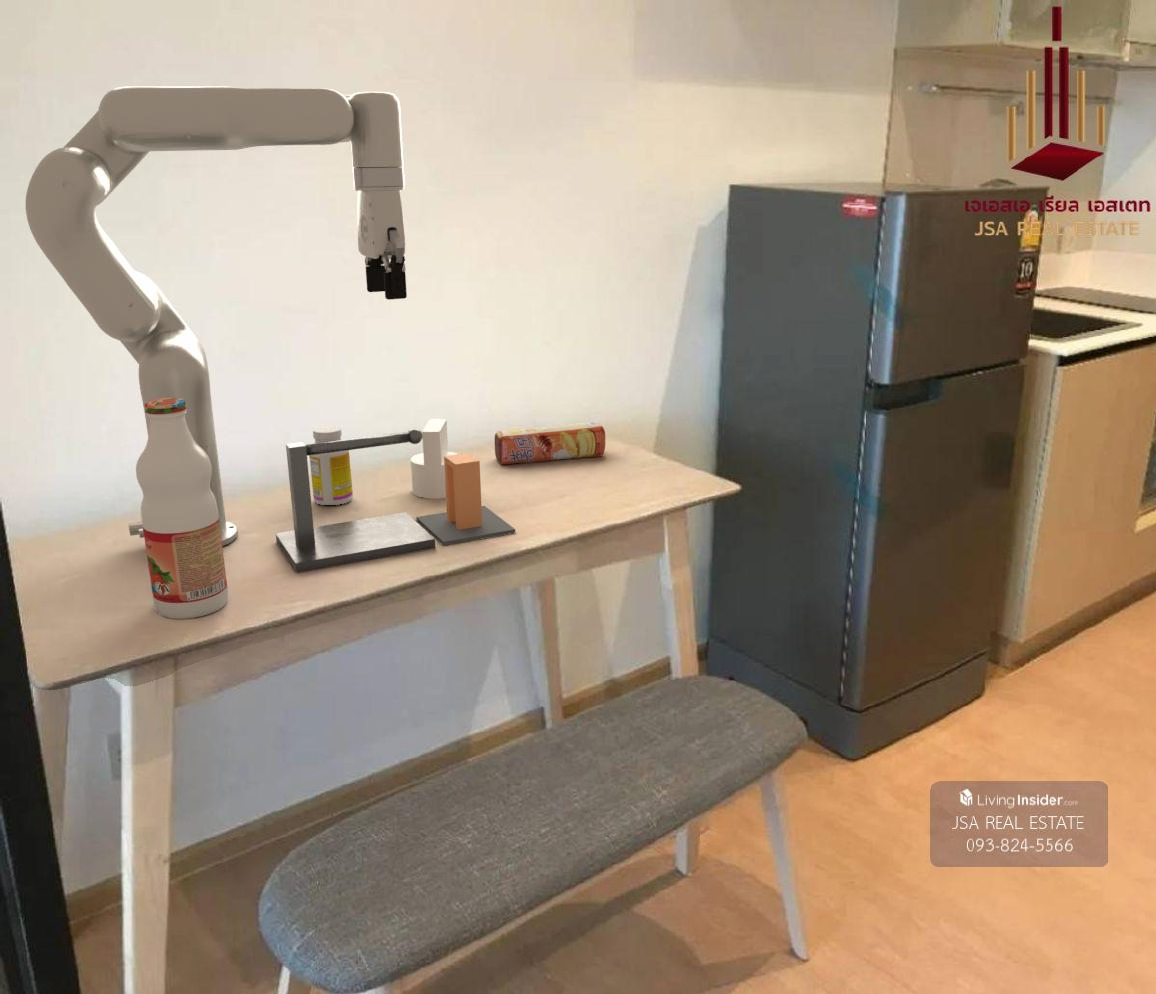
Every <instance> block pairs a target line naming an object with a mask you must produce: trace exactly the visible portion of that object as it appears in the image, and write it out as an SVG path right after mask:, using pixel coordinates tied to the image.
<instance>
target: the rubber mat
mask: <svg viewBox="0 0 1156 994" xmlns="http://www.w3.org/2000/svg"><path fill="white" fill-rule="evenodd" d="M481 508H482V526H478V527H473V528H467V529H461V530H458V529H457V528H456V521H455V522H449V521H448V520H447V511H445V512H438V513H433V514H427V515H420V516H416V518H415V519H416V520H415V521H416V522H417V523H418V524H419V525H420V526H421V527H422V528H424V529H425V530H426V531H427V532H428V533H429V534H430V535H431V536H432V537H433V538H434V539H435V540H437V542H439V543H440V544H441V545H442V546H443V547H444V546H449V545H454V544H460V543H466V542H471V541H477V540H481V539H482V538H483V539H487V538H488V537H489V538H494V537H499V535H500V536H504V534H506V535H509V533H511V534H515V533H516V528H515V527H513V526H512V525H510V523H508V522H507V521H505V520H504V519H503V518H501V517H500V516H498V515H497V514H496V513H495V512H493V511H492V510H491V509H490V508H488V507H486V506H485V505H481ZM514 532H515V533H514ZM493 536H494V537H493ZM483 539H482V540H483Z"/></svg>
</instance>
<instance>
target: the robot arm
mask: <svg viewBox="0 0 1156 994" xmlns="http://www.w3.org/2000/svg"><path fill="white" fill-rule="evenodd" d="M400 104H401V103H400V100H399V98H398V97H397V95H395V94H394V93H391V92H386V91H384V92H383V91H361V92H356V93H353V94H342V93H341V92H339V91H338V90H335V89H330V88H325V87H322V88H321V87H313V88H312V87H307V88H306V87H295V88H294V87H290V88H289V87H282V88H280V87H279V88H277V87H272V88H265V87H264V88H261V87H260V88H257V87H256V88H252V87H250V88H249V87H237V86H228V85H227V86H220V85H219V86H218V85H217V86H216V85H215V86H213V85H212V86H210V85H209V86H207V85H206V86H205V85H203V86H169V85H168V86H167V85H166V86H165V85H164V86H158V85H157V86H156V85H155V86H149V85H148V86H142V85H141V86H138V85H137V86H129V85H128V86H121V87H120V86H119V87H116V88H113V89H111V90H109V91H107V92H106V94H105V95H104V96H103V97H102V99H101V100H100V104H99V106H98V109H97V111H96V112H95V114H94V115H93V116H92V117H91V118H90V119H89V120H88V121H87V123H86V124H85V125H84V126H83V127H82V128H81V129H80V130H79V131H78V132H77V133H76V134H75V135H74V136H73V137H72V138H71V139H70V140H69V141H68V142H67V143H66V144H65V145H64V146H63V147H60V148H59V147H58V148H57V149H54V150H52V151H51V152H49V153H48V154H46V155H45V156H44V157H43V158H42V159H41V160H40V161H39V163H38V164H37V166H36V168H35V169H34V171H33V173H32V175H31V178H30V180H29V183H28V186H27V189H26V195H25V213H26V214H25V215H26V219H27V222H28V226H29V227H28V228H29V229H30V232H31V234H32V236H33V239H34V240H35V242H36V244H37V245H38V247H39V249H41V251H42V252H43V255H45V257H46V258H47V259H48V261H49V262H50V263H51V265H52V266H53V268H54V269H55V270H56V272H57V273H58V274H59V276H60V277H61V278H62V279H63V281H64V282H65V284H66V285H67V286H68V288H69V289H70V290H71V291H72V293H73V294H74V295H75V297H76V298H77V299H78V300H79V302H80V303H81V304H82V306H83V307H84V308H85V310H87V312H88V313H89V315H90V317H91V318H92V319H93V321H94V322H95V323H96V324H97V326H98V328H99V329H100V330H101V331H102V332H104V333H105V334H106V335H107V336H109V337H110V338H112V339H115V340H117V341H120V343H121V344H122V345H123V347H124V348H125V349H126V350H127V352H128V353H129V354H130V355H131V357H132V358H133V359H134V360H135V361H136V362H137V364H138V382H139V383H138V384H139V390H140V396H141V401H142V406H143V411H144V412H143V413H144V419H145V425H146V430H147V437H148V436H149V427H150V423H149V418H148V417H147V416H146V412H145V403H146V402H148V401H151V400H155V399H162V398H180V399H184V400H185V402H186V406H187V409H186V411H187V412H186V414H185V420H186V424H187V426H188V429H189V431H190V433H191V435H192V437H193V439H194V440H195V442H196V443H197V444H198V445H199V446H200V447H201V448H202V449H203V450H204V451H205V452H206V454H207V455H208V457H209V459H210V462H211V468H212V472H211V479H210V489H211V491H212V493H213V494H214V496H215V499H216V503H217V508H218V514H219V524H220V532H221V540H222V547H224V546H226V545H228V544H230V543H232V542H233V541H235V539H237V537H238V535H239V532H238V527H237V525H235V524H233V522H229V521H227V519H226V510H225V504H224V503H225V502H224V495H223V486H222V478H221V472H220V462H219V454H218V444H217V439H216V429H215V421H214V412H213V405H212V404H213V403H212V396H211V395H212V394H211V383H210V374H209V373H210V372H209V365H208V360H207V355H206V352H205V349H204V347H203V346H202V344H201V342H200V341H199V339H198V338H197V337H196V335H195V334H194V333H193V331H192V330H191V329H190V327H189V326H188V325H187V324H186V322H185V321H184V320H183V318H182V317H181V316H180V314H179V313H178V312H177V310H176V309H175V308H174V306H173V304H171V302H170V301H169V299H167V296H165V294H164V293H163V292H162V290H161V289H160V288H159V287H158V286H157V284H156V283H155V282H154V281H153V280H152V279H151V278H149V277H148V276H146V275H145V274H143V273H141V272H139V271H136V270H134V269H133V267H132V266H131V265H130V264H129V262H128V261H127V259H126V258H125V257H124V256H123V255H122V253H121V252H120V251H119V249H118V247H117V246H116V245H115V243H114V241H112V240H111V238H110V237H109V236H108V235H107V233H106V232H105V231H104V230H103V227H101V225H100V223H99V222H98V218H97V216H96V207H98V206H99V205H100V204H101V203H103V202H104V201H105V200H106V199H107V198H108V197H109V195H111V194H112V192H114V190H115V189H116V188H117V187H118V186H119V185H120V184H121V183H122V182H123V180H124V179H126V178H127V177H128V176H129V174H130V173H131V172H132V171H133V170H135V169H136V167H137V166H138V165H139V164H140V163H141V162H142V161H143V160H144V158H145V157H146V156H148V154H149V152H179V151H180V152H181V151H182V152H183V151H185V152H186V151H192V152H193V151H237V150H243V149H249V148H254V147H255V148H256V147H268V146H269V147H270V146H273V147H274V146H313V145H314V146H332V145H333V146H334V145H337V144H340V143H350V147H351V163H352V174H353V176H352V177H353V191H356V192H357V202H356V203H357V204H356V206H357V208H356V210H357V211H356V214H357V215H356V217H357V220H356V221H357V246H358V247H357V248H358V253H360V254H361V255H363V256H364V264H365V277H366V278H365V279H366V290H367V292H368V293H380V292H384V297H385V299H386V300H401V299H402V300H404V299H406V298H408V297H407V296H408V295H407V278H406V264H405V261H406V257H405V253H406V234H405V232H406V231H405V223H404V211H403V202H402V196H401V191H403V190H404V191H405V190H406V188H405V186H406V185H405V171H404V167H405V166H404V154H403V153H404V152H403V134H402V133H403V132H402V119H401V116H402V115H401V114H402V113H401V105H400ZM127 525H128V532H129V536H130V537H132V536H137V535H138V536H139V538H140V539H142V538H143V539H144V532H143V527H142V521H136V522H131V523H130V522H129V523H128V524H127Z"/></svg>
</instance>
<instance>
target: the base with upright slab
mask: <svg viewBox="0 0 1156 994" xmlns="http://www.w3.org/2000/svg"><path fill="white" fill-rule="evenodd" d="M447 421H448V419H445V418H431V419H428V421H427V423H426V424H425V426H424V428H423V430H422V431H421V432H422V436H423V437H422V449H423V451H422V452H421V453H418V454H415V455H413V456H412V457H411V458H410V470H411V471H410V472H411V489H412V491H411V492H412V494H413V495H414V496H416V497H417V498H418V497H419V498H421V497H423V498H422V499H431V500H434V499H446V487H445V467H444V456H449V455H456V454H458V453H456V452H452V451H449V444H448V443H449V442H448V440H449V439H448V425H447V424H448V423H447Z"/></svg>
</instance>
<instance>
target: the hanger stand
mask: <svg viewBox="0 0 1156 994" xmlns="http://www.w3.org/2000/svg"><path fill="white" fill-rule="evenodd" d="M422 437H423V436H422V431H421V429H418V428H415V427H414V428H411V429H409V430H408V431H402V432H397V433H389V434H381V435H380V434H379V435H373V436H364V437H357V438H349V439H341V440H340V441H332V442H324V443H316V444H314V443H309V444H305V443H304V442H303V441H300V442H292V443H286V444H285V448H286V450H285V451H286V459H287V460H286V461H287V470H288V471H287V472H288V479H289V491H290V499H291V502H290V503H291V508H292V509H291V511H292V521H293V527H294V528H293V529H294V530H290V531H288V530H287V531H281V532H277V533H275V539H276V540H275V541H276V544H277V545H278V547H279V549H280V550H281V552H282V553H283V554H284V556H285V558H286V559H287V560H288V562H289V563H290V565H291V567H292V568H293V570H294V571H295V573H296V574H298V573H304V572H311V571H316V570H320V569H326V568H332V567H333V568H334V567H338V566H343V565H344V566H345V565H347V564H354V563H359V562H366V561H370V560H376V559H382V558H388V557H393V556H398V555H405V554H412V553H417V552H421V551H427V550H428V551H429V550H433V549H436V538H435V537H434V536H433V535H432V534H431V533H429V532H428V531H427V530H426V529H425V528H424V527H423V526H422V525H421V524H420V523H419V522H418V521H417V520H415V519H414V518H413V517H412V516H411V515H410V514H409V513H407V512H406V511H405V512H400V513H394V514H388V515H383V516H375V517H370V518H369V517H367V518H363V519H357V520H356V519H355V520H349V521H345V522H338V523H332V524H325V525H319V526H314V518H313V515H314V514H313V506H312V497H311V496H312V495H311V494H312V493H311V486H310V484H311V483H310V476H309V475H310V474H309V465H308V456H309V455H316V454H324V453H331V452H339V451H346V450H349V451H353V450H354V451H355V450H361V449H367V448H375V447H382V446H384V447H385V446H390V445H398V444H406V443H407V444H408V443H410V444H412V445H417V444H419V443H421V441H423V438H422Z"/></svg>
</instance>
